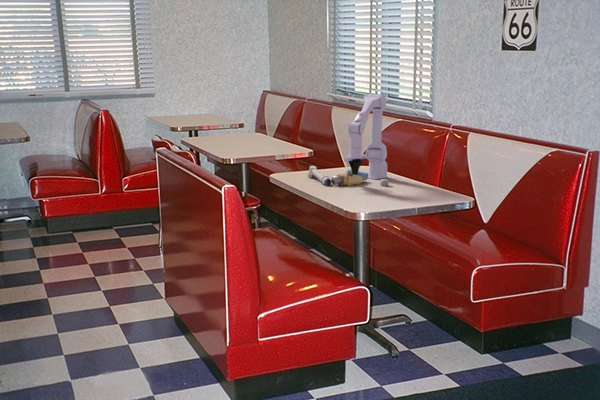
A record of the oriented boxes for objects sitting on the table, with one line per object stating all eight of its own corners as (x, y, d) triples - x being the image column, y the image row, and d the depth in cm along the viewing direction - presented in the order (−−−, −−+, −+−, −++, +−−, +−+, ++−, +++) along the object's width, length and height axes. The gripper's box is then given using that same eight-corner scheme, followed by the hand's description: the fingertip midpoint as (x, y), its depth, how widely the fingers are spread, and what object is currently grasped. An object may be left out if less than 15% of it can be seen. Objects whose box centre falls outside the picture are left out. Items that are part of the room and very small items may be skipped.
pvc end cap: (384, 184, 368) (384, 178, 367) (390, 185, 365) (390, 180, 364) (378, 185, 365) (378, 179, 365) (384, 186, 362) (384, 180, 362)
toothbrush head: (323, 178, 361) (306, 163, 383) (322, 191, 363) (305, 175, 385) (333, 178, 362) (315, 163, 384) (332, 190, 365) (315, 175, 387)
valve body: (360, 180, 378) (360, 171, 377) (369, 182, 372) (369, 173, 371) (329, 184, 365) (329, 175, 364) (338, 187, 359) (338, 177, 358)
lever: (350, 173, 370) (350, 168, 369) (368, 177, 359) (369, 173, 359) (345, 174, 368) (345, 169, 367) (364, 178, 358) (364, 173, 357)
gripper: (358, 144, 365) (358, 171, 368) (339, 147, 355) (338, 175, 358) (370, 146, 360) (369, 173, 363) (350, 149, 350) (350, 177, 353)
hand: (354, 174), depth 360 cm, fingers closed
